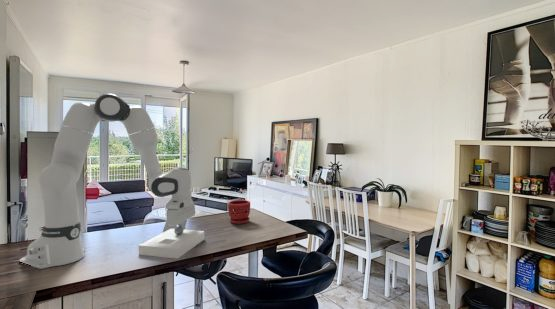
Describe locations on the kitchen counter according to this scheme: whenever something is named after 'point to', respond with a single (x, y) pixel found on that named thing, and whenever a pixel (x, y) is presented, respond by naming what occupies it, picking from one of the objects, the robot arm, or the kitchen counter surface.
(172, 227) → the flask
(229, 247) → the kitchen counter surface
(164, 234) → the hole board
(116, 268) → the kitchen counter surface
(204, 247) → the kitchen counter surface
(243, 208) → the plant pot
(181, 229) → the steel ball
